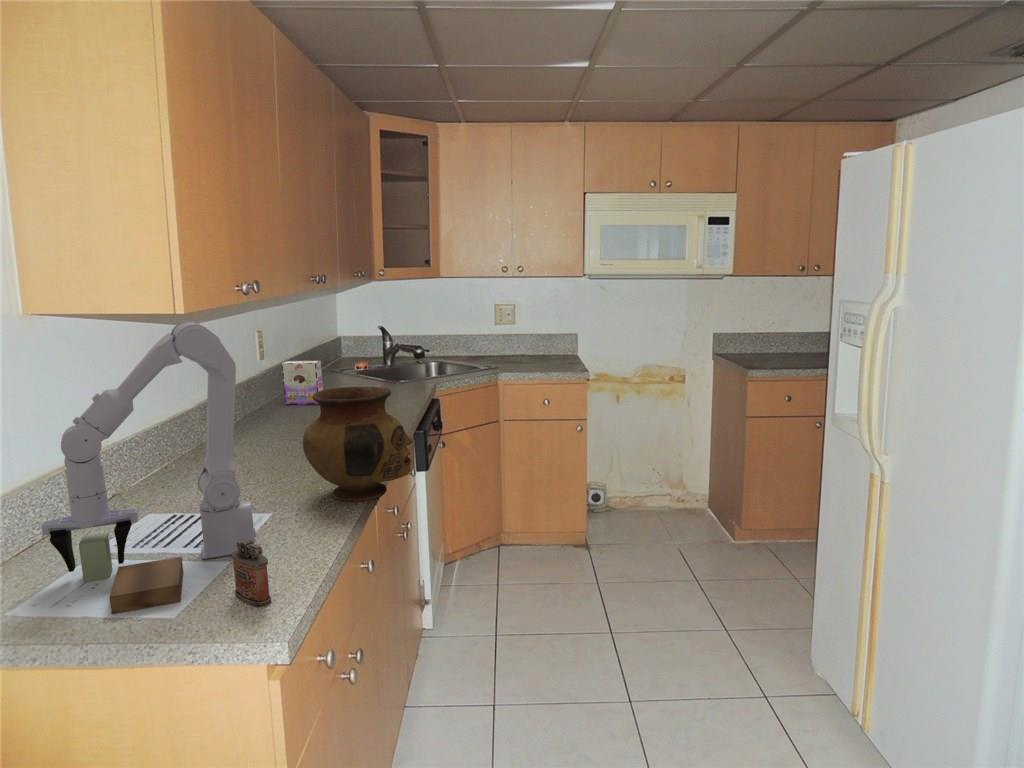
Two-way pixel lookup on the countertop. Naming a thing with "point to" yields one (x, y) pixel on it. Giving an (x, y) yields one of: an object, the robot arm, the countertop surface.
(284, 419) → the countertop surface
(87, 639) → the countertop surface
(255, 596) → the lighter
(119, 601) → the plinth
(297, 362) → the candy box
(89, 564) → the block
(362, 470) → the pot
